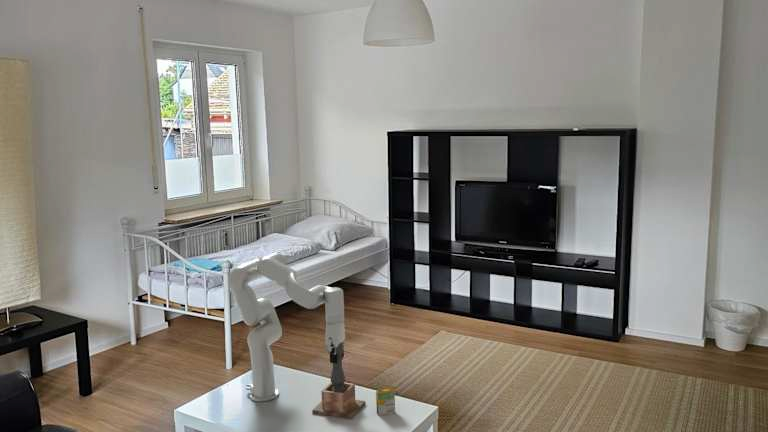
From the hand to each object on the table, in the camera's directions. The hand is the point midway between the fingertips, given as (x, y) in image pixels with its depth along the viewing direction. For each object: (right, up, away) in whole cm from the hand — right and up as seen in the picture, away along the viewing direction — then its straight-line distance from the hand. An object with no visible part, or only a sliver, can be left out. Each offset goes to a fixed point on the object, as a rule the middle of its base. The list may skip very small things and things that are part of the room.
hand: (337, 359), depth 261 cm
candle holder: (+1, -18, +3) cm, 18 cm away
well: (+1, -21, +4) cm, 22 cm away
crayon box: (+20, -22, -1) cm, 30 cm away
